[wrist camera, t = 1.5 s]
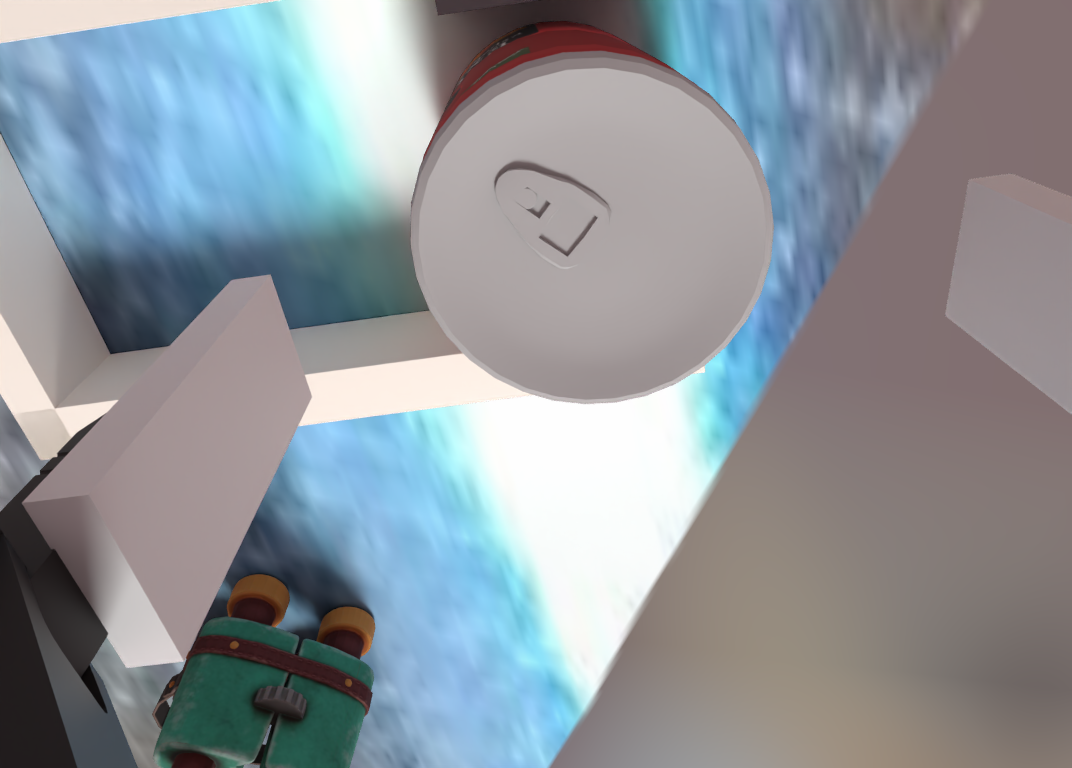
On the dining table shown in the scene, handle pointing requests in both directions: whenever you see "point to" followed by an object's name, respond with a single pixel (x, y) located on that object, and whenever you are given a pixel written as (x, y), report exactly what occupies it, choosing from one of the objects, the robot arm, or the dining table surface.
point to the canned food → (587, 218)
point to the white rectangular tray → (102, 378)
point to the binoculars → (267, 688)
